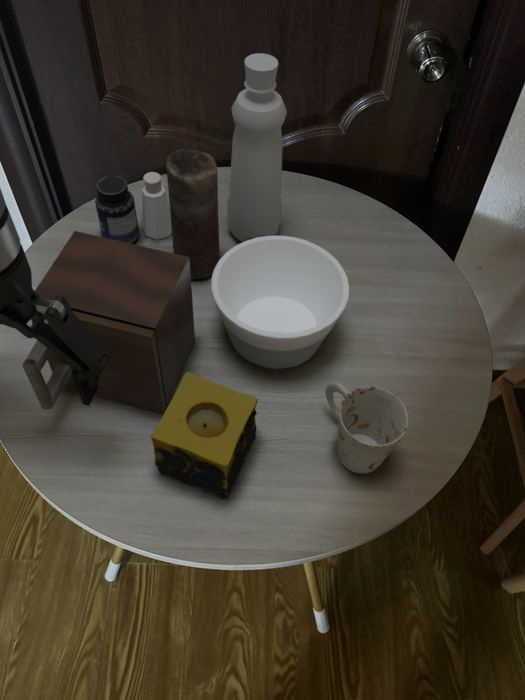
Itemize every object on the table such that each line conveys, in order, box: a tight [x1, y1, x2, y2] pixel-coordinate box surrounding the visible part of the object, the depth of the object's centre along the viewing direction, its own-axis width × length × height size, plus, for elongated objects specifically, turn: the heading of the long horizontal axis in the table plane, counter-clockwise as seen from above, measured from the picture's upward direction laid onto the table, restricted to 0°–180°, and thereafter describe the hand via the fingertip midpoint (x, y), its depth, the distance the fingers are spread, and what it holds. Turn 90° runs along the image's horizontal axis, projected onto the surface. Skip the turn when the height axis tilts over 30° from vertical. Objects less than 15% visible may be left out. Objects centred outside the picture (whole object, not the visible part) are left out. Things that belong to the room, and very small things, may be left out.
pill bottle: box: [94, 174, 140, 245], centre depth 100 cm, size 6×6×11 cm
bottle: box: [226, 52, 288, 243], centre depth 95 cm, size 9×9×30 cm
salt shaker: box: [141, 171, 172, 241], centre depth 101 cm, size 5×5×11 cm
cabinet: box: [34, 230, 196, 408], centre depth 82 cm, size 12×16×18 cm
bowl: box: [210, 235, 350, 370], centre depth 89 cm, size 19×19×11 cm
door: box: [22, 311, 167, 415], centre depth 77 cm, size 7×16×17 cm, turn 75°
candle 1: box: [165, 148, 221, 280], centre depth 93 cm, size 8×7×20 cm
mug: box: [325, 381, 409, 475], centre depth 79 cm, size 8×13×10 cm, turn 36°
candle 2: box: [150, 371, 259, 500], centre depth 77 cm, size 10×10×10 cm
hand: (38, 382), depth 74 cm, fingers open, 13 cm apart
